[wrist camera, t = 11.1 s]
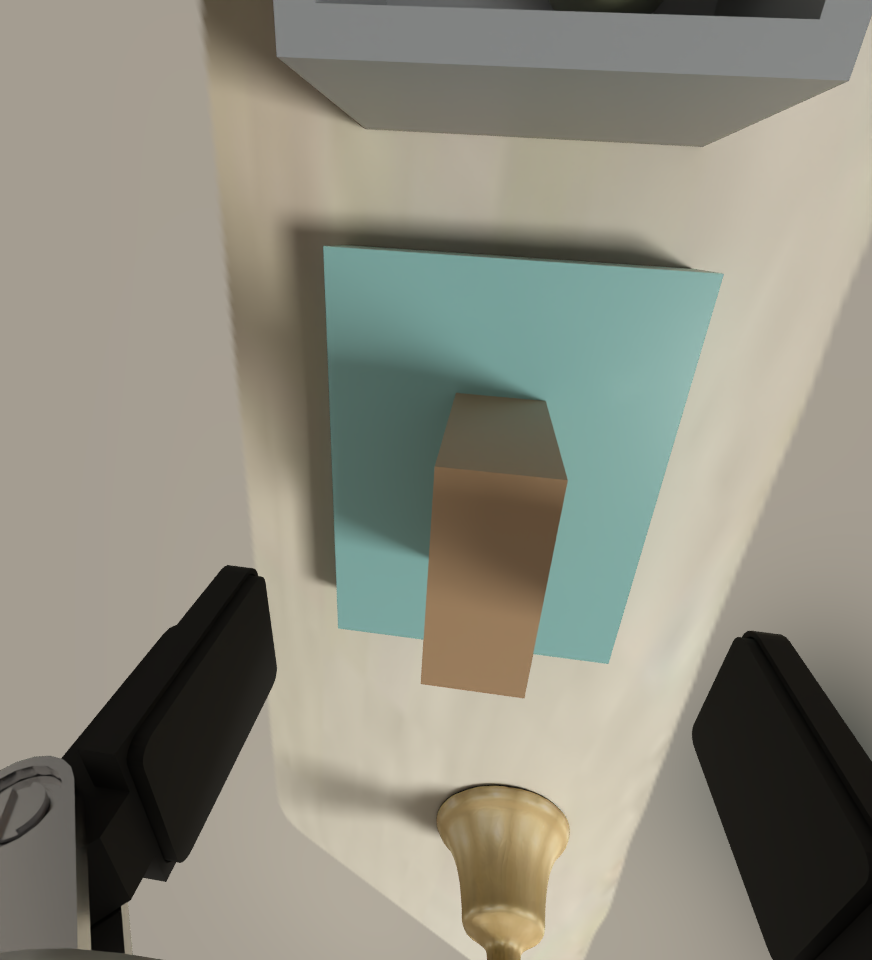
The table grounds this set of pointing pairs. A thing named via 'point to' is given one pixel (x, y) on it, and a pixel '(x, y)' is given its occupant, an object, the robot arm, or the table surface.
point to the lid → (500, 447)
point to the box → (571, 63)
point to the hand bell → (503, 863)
